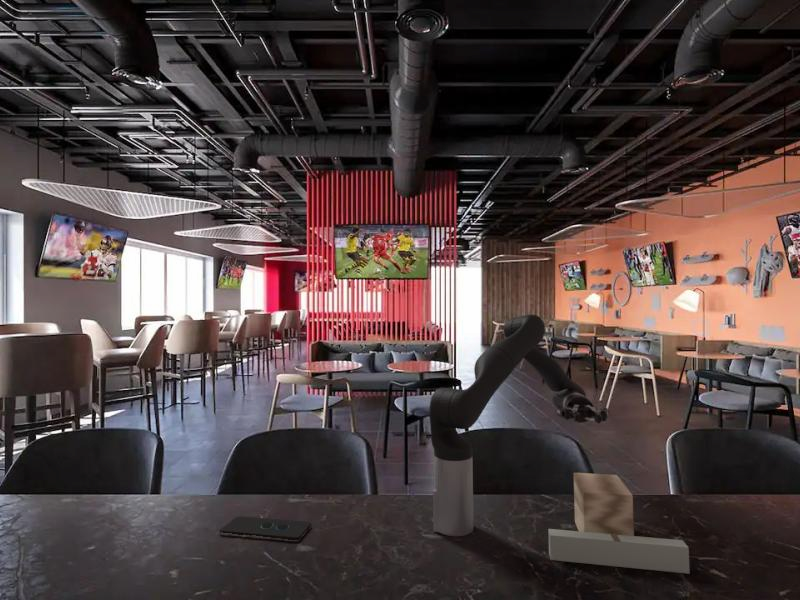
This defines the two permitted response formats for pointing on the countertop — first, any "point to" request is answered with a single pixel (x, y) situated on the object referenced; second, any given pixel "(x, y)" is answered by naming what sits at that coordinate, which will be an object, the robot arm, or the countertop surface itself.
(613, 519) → the birch block
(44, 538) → the countertop surface
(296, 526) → the smart home device
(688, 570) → the sage board
